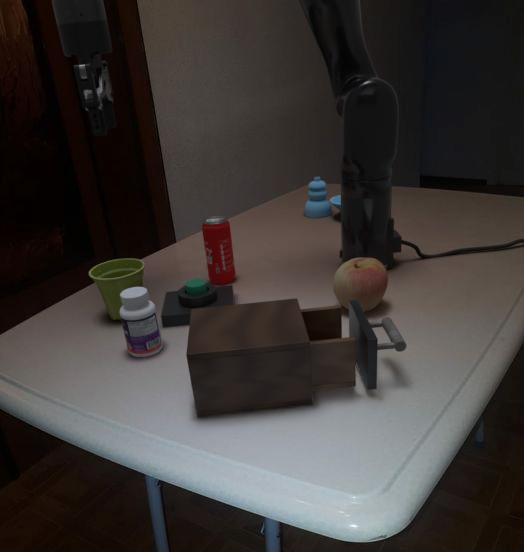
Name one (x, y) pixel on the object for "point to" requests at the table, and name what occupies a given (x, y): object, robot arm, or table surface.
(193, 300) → the control block
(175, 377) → the table surface
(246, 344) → the cabinet
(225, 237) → the beverage can
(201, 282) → the button
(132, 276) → the plant pot
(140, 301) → the pill bottle
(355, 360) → the drawer
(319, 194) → the blue tiered piece
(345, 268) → the apple
